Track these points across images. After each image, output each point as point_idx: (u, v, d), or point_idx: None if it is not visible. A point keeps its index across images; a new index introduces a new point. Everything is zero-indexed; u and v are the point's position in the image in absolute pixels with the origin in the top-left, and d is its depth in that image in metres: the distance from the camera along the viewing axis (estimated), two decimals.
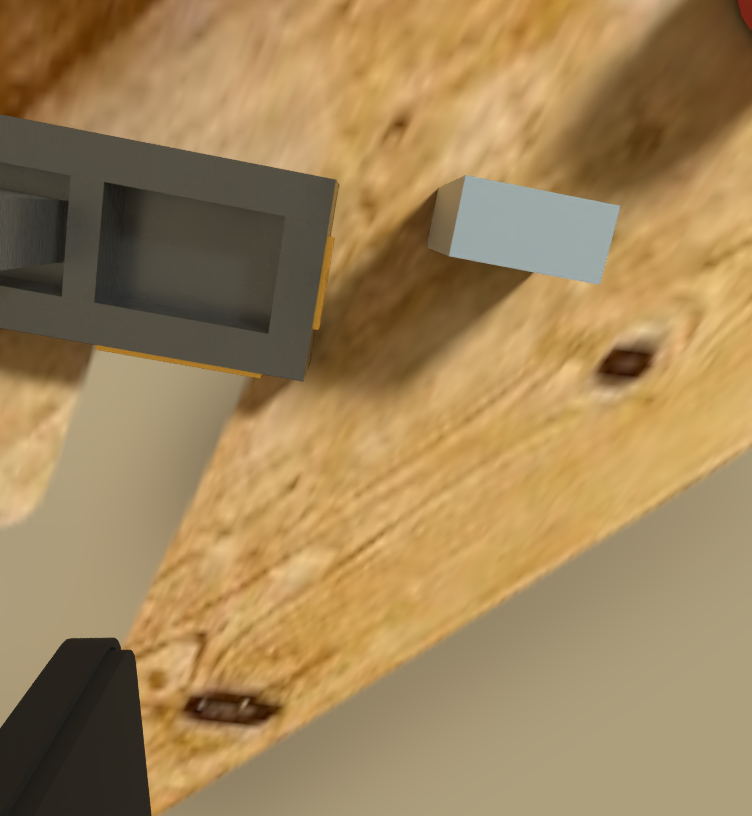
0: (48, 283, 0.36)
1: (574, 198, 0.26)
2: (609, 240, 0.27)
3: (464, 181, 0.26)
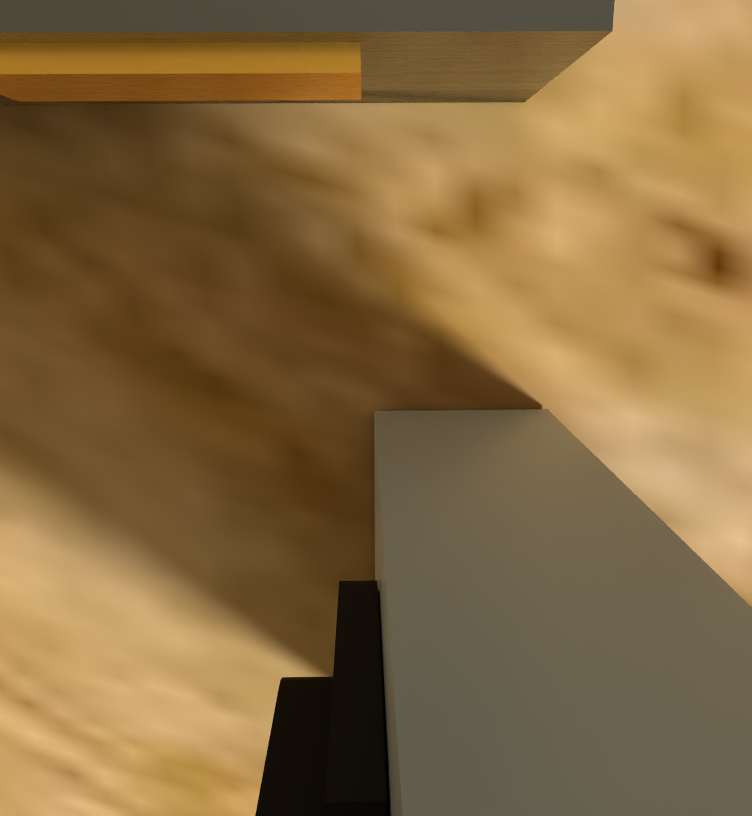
0: None
1: None
2: None
3: None
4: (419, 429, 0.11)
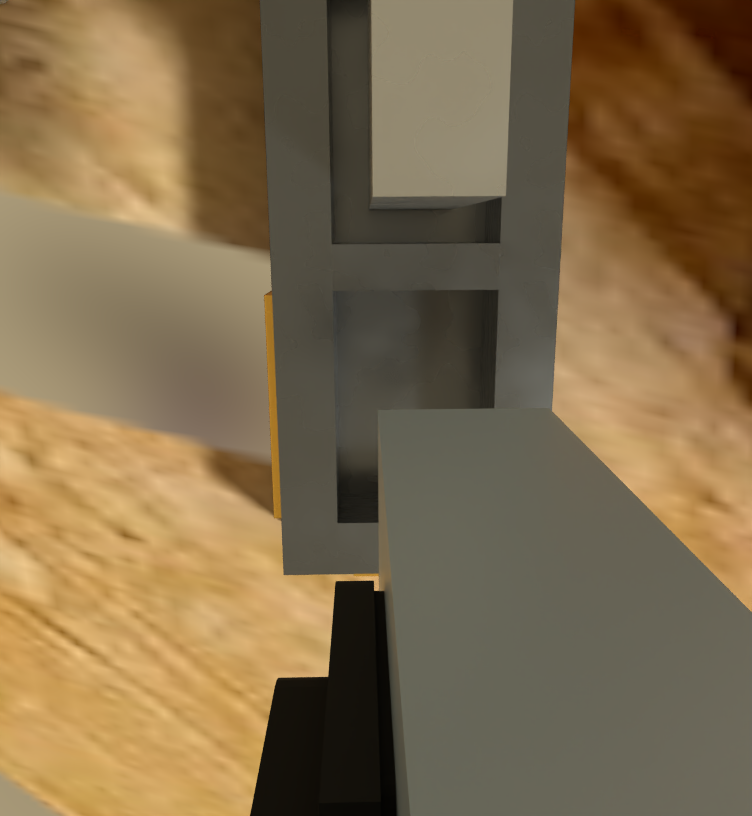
0: (335, 189, 0.25)
1: None
2: None
3: None
4: (422, 428, 0.11)
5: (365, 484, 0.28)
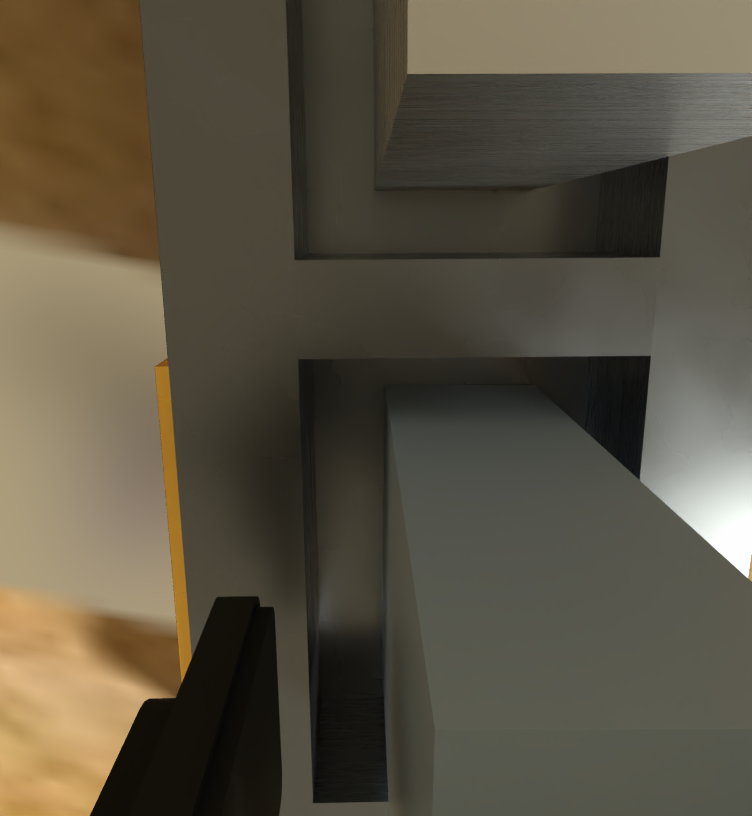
0: (307, 149, 0.13)
1: None
2: None
3: None
4: (424, 398, 0.13)
5: (367, 683, 0.16)
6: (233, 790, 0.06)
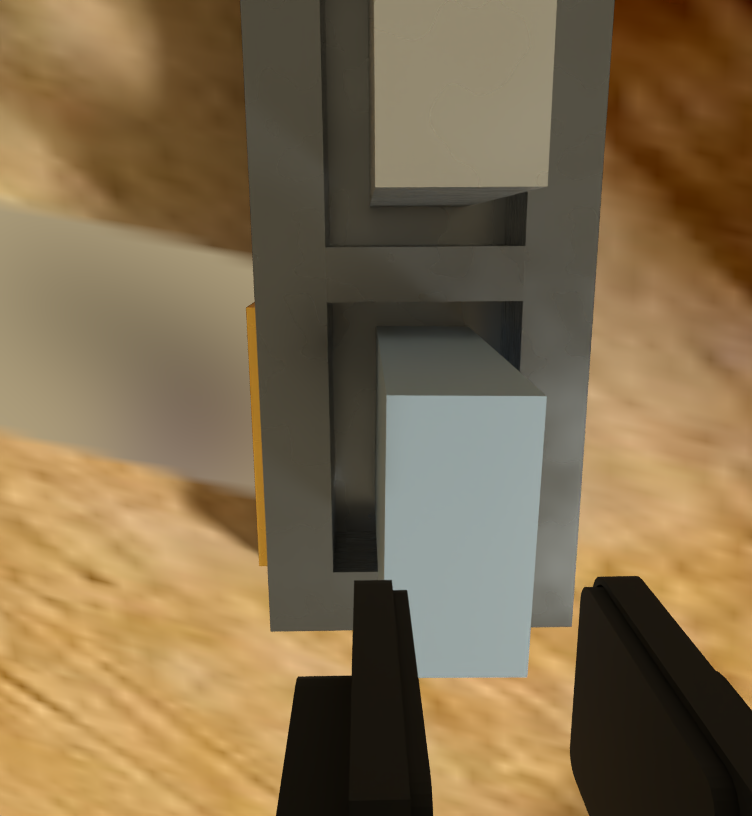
0: (329, 182, 0.22)
1: (529, 599, 0.14)
2: (464, 674, 0.15)
3: (533, 395, 0.13)
4: (399, 330, 0.22)
5: (365, 522, 0.24)
6: (425, 754, 0.07)
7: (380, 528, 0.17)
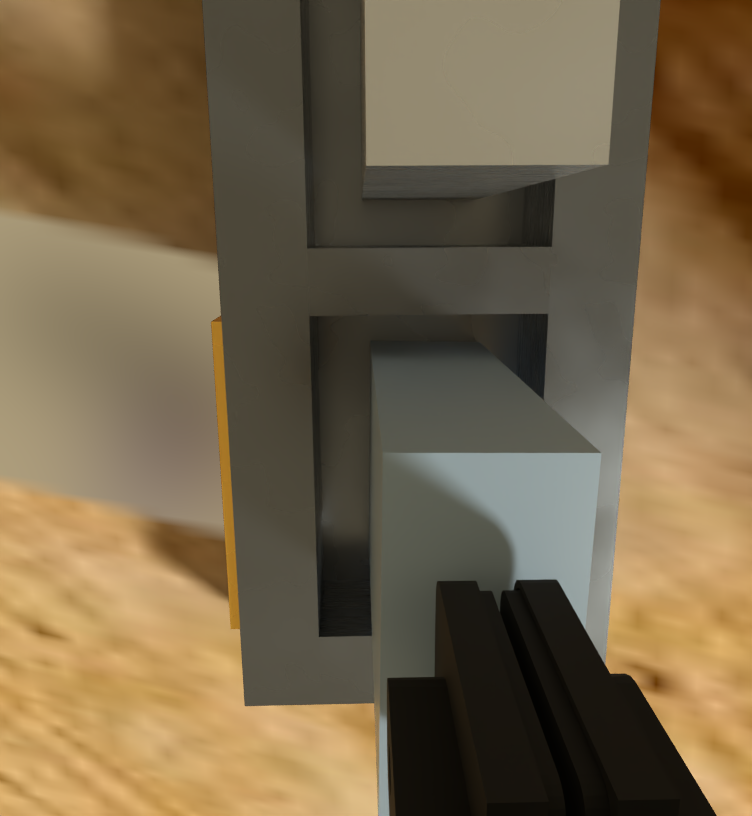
0: (314, 171, 0.18)
1: None
2: None
3: (582, 451, 0.10)
4: (397, 348, 0.18)
5: (358, 569, 0.21)
6: (544, 757, 0.07)
7: None
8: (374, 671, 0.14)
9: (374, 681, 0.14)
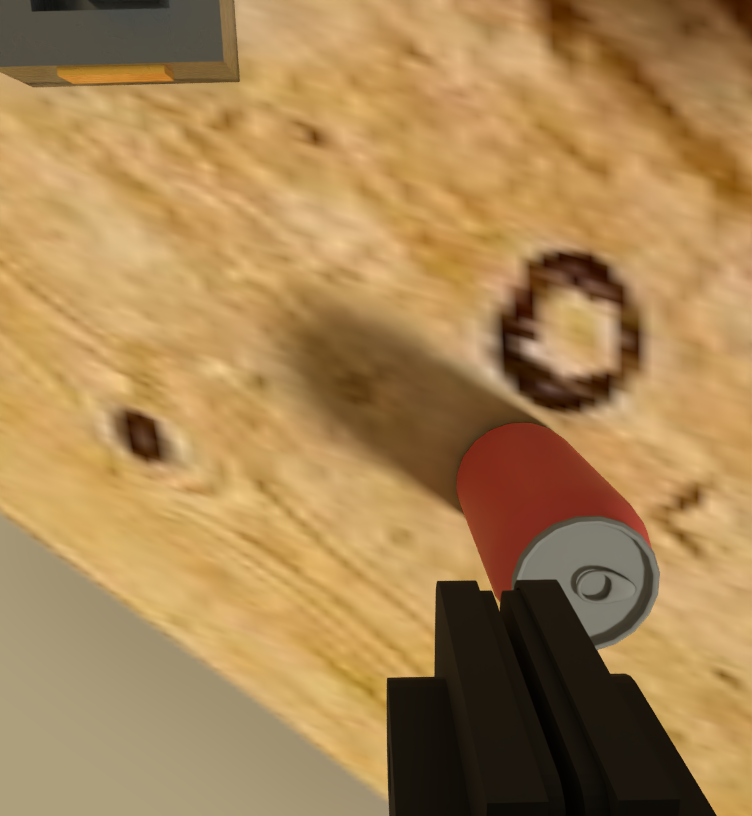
0: None
1: None
2: None
3: None
4: None
5: None
6: (544, 757, 0.07)
7: None
8: None
9: None
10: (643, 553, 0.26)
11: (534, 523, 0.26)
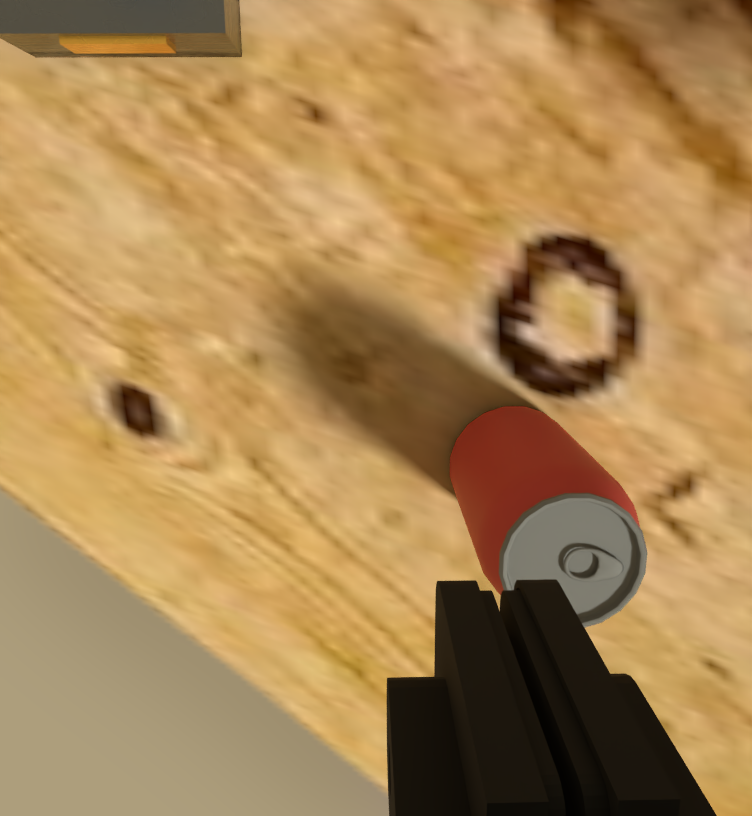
0: None
1: None
2: None
3: None
4: None
5: None
6: (542, 756, 0.07)
7: None
8: None
9: None
10: (631, 532, 0.26)
11: (523, 499, 0.26)
